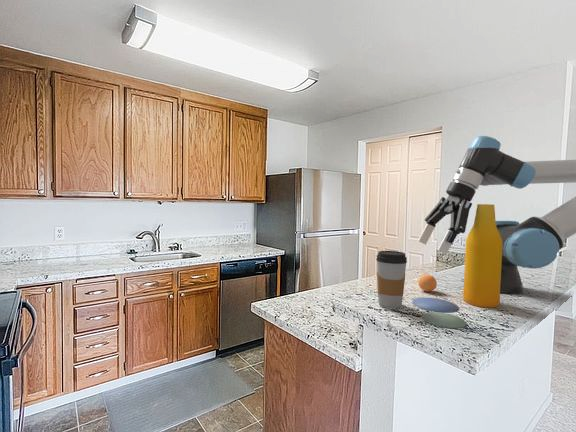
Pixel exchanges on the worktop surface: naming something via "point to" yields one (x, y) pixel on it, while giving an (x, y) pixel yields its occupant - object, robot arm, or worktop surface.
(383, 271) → the coffee cup
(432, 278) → the ball
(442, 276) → the worktop surface
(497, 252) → the beer bottle
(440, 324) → the disc
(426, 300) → the disc
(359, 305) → the worktop surface
